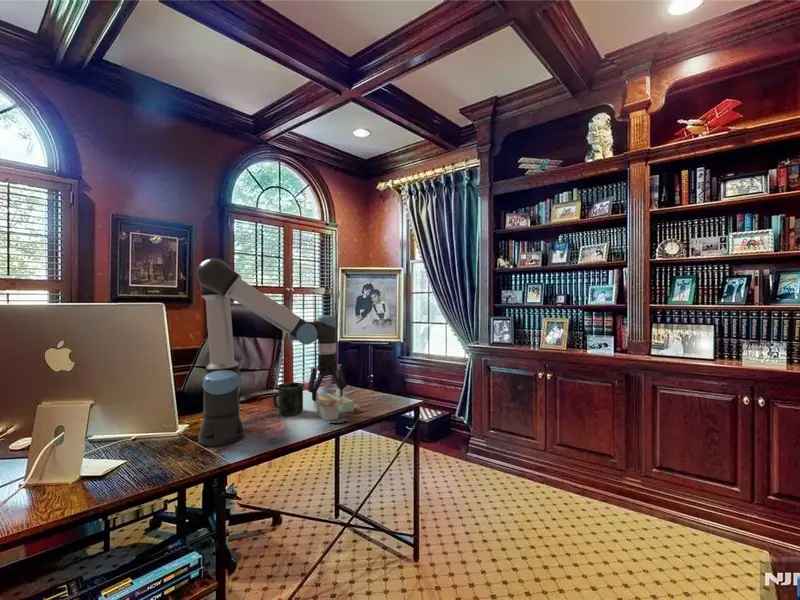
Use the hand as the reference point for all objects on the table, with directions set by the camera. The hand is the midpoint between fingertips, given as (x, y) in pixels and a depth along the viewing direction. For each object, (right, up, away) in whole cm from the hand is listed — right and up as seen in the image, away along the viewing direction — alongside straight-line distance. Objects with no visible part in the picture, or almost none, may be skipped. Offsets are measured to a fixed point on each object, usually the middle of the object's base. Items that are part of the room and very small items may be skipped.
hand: (327, 406), depth 173 cm
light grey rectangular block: (0, -4, 0) cm, 4 cm away
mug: (-18, -5, +5) cm, 19 cm away
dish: (+5, -4, +11) cm, 13 cm away
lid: (0, +2, 0) cm, 2 cm away
